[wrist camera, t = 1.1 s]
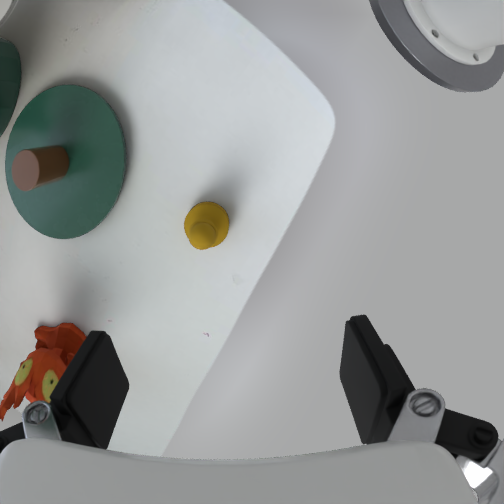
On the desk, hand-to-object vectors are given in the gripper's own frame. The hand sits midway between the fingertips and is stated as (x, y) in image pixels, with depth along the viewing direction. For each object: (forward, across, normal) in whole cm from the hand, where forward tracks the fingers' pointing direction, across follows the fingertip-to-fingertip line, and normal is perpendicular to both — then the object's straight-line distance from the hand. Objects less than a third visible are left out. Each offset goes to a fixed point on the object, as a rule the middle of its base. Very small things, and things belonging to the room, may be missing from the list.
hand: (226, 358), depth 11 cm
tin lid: (+17, +17, -8) cm, 26 cm away
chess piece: (+18, +3, 0) cm, 18 cm away
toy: (+18, +25, +17) cm, 35 cm away
